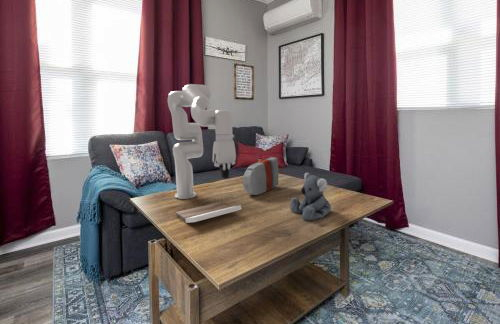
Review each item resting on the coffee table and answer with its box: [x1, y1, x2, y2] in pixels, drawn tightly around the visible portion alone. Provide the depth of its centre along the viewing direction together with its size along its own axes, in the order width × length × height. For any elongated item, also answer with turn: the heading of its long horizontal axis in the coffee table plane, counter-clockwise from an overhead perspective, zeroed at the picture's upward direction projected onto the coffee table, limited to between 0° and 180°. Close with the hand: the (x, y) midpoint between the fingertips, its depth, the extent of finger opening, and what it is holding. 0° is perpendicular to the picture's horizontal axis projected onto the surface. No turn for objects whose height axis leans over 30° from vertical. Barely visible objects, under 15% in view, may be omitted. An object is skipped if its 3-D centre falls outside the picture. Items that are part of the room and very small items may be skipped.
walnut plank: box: [175, 201, 229, 223], centre depth 141 cm, size 10×24×2 cm, turn 128°
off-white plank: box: [185, 204, 242, 224], centre depth 132 cm, size 10×24×2 cm, turn 127°
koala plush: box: [289, 171, 332, 221], centre depth 138 cm, size 17×18×20 cm
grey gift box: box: [242, 156, 279, 196], centre depth 175 cm, size 19×6×30 cm
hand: (225, 177), depth 132 cm, fingers closed
